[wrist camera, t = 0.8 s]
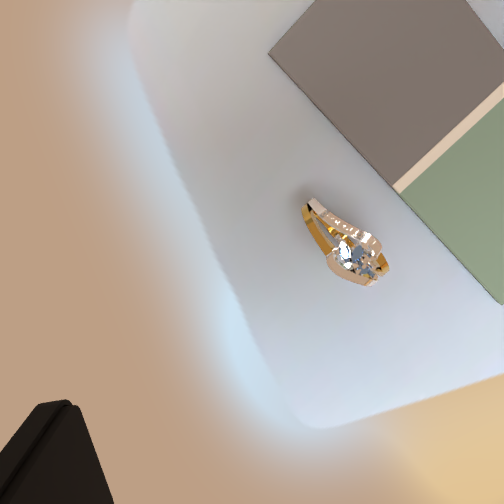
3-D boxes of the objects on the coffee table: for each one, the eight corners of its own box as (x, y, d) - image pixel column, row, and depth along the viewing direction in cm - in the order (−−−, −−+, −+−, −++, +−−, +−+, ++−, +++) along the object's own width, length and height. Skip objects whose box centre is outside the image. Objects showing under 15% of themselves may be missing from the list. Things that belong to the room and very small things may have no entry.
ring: (376, 247, 33) (415, 285, 25) (343, 273, 33) (370, 318, 26) (321, 178, 31) (343, 196, 23) (287, 206, 32) (298, 232, 24)
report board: (393, -85, 26) (397, -90, 26) (618, 205, 32) (626, 207, 31) (268, 53, 29) (268, 52, 28) (497, 302, 34) (502, 305, 33)
